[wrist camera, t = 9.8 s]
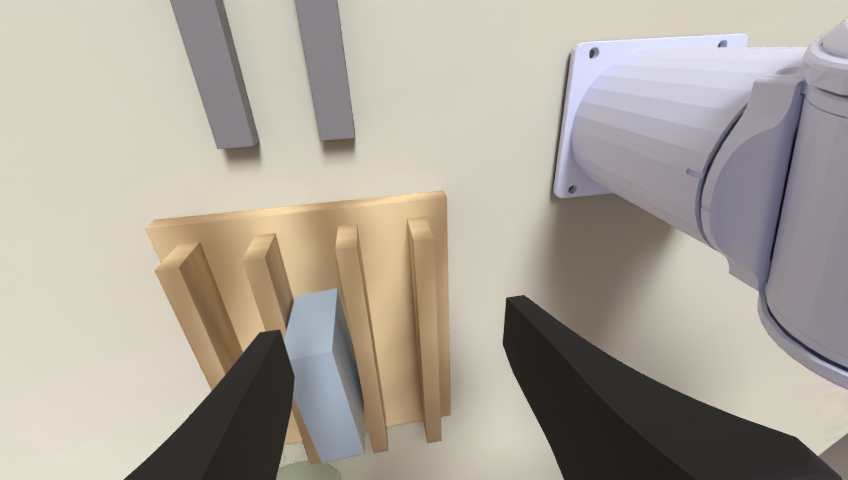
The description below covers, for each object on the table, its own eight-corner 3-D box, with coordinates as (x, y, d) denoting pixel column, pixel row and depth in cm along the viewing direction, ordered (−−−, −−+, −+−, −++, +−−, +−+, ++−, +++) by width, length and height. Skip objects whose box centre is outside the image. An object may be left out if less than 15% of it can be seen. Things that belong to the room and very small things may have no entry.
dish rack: (442, 191, 20) (457, 216, 17) (447, 404, 29) (458, 446, 26) (155, 220, 18) (114, 254, 15) (251, 438, 27) (237, 487, 24)
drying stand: (322, -108, 14) (320, -118, 13) (355, 133, 18) (354, 137, 17) (147, -108, 13) (132, -119, 12) (224, 143, 17) (217, 148, 16)
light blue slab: (337, 288, 21) (331, 351, 16) (363, 382, 25) (364, 453, 20) (295, 295, 21) (278, 361, 16) (328, 389, 24) (321, 463, 20)
